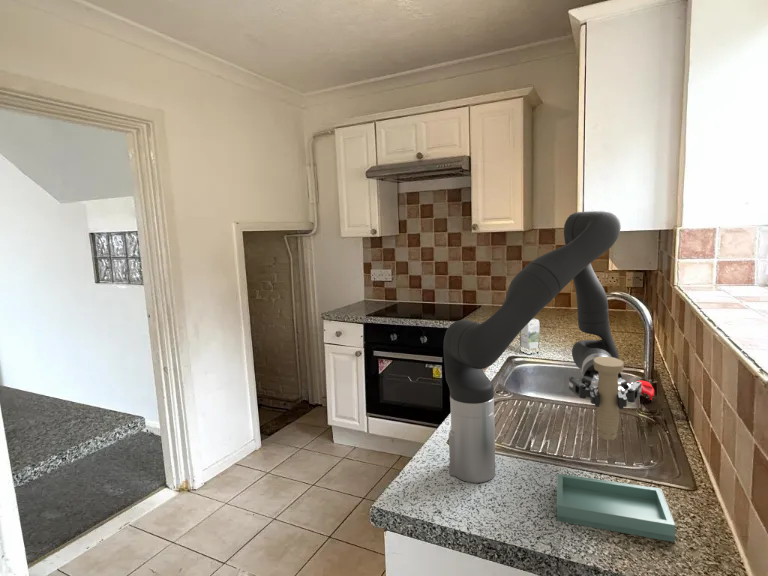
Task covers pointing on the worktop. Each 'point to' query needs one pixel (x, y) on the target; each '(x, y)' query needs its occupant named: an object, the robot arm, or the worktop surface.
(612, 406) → the handle
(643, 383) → the red lobed piece
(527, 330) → the syrup box
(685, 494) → the worktop surface
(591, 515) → the tray
